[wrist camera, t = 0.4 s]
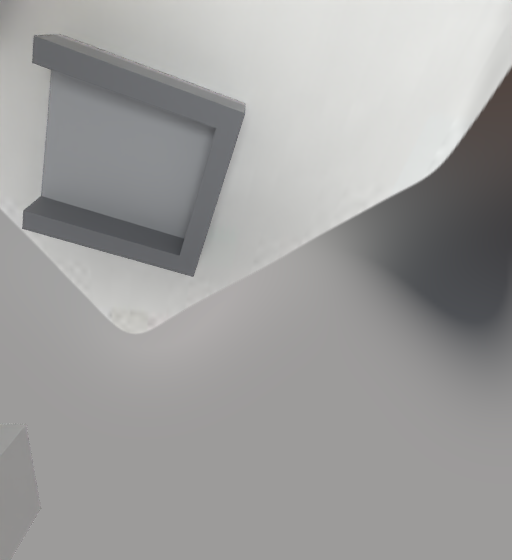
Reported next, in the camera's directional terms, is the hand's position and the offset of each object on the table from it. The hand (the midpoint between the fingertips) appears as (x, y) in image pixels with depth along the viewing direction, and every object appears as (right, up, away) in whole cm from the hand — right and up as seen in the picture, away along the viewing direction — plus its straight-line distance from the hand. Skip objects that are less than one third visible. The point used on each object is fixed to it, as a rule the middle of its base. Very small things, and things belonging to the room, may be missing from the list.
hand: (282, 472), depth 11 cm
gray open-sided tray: (-10, +15, +21) cm, 27 cm away
